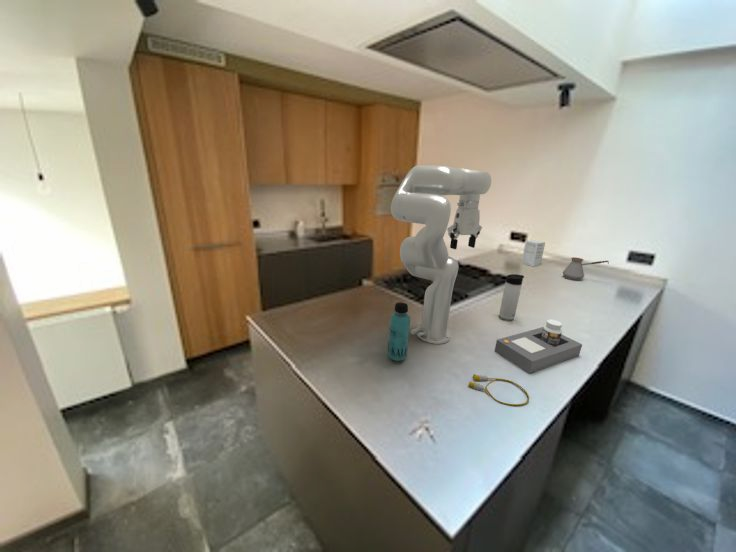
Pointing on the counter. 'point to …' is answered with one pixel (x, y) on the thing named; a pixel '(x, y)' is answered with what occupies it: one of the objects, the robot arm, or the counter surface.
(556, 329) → the pill bottle
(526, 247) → the supplement box
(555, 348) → the socket block
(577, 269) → the coffee pot
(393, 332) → the beverage bottle
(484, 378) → the yellow connector cable
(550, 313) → the counter surface
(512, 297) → the travel mug
